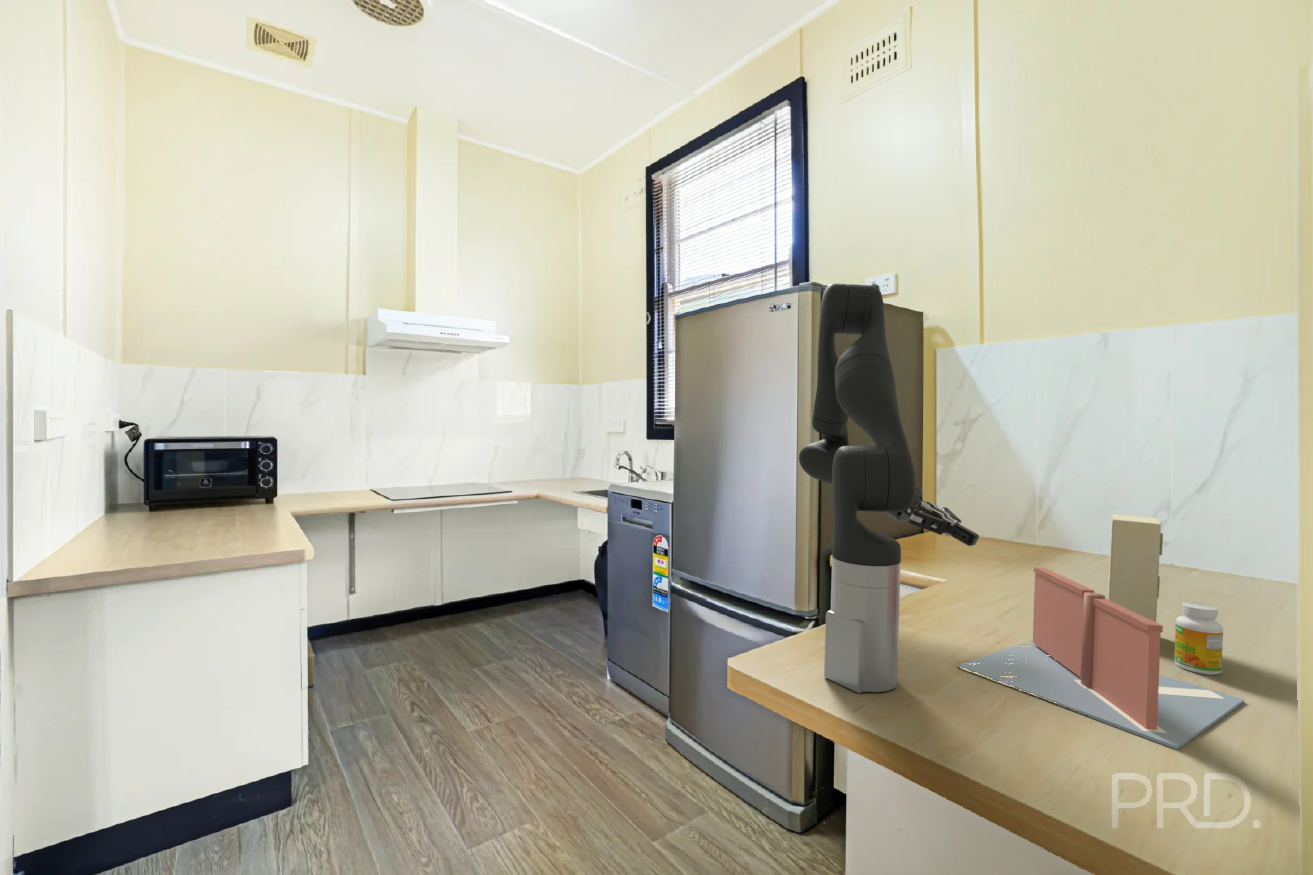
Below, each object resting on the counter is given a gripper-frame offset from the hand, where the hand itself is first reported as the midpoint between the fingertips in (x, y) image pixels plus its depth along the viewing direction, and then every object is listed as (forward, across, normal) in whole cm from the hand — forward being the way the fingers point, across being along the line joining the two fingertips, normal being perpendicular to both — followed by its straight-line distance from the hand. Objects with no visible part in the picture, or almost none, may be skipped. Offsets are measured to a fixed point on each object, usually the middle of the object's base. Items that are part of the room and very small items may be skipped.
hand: (975, 541), depth 102 cm
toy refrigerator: (+22, +25, +9) cm, 34 cm away
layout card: (+24, -4, +9) cm, 26 cm away
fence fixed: (+27, -10, +7) cm, 30 cm away
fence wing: (+18, 0, +10) cm, 21 cm away
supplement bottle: (+31, +16, +5) cm, 35 cm away
